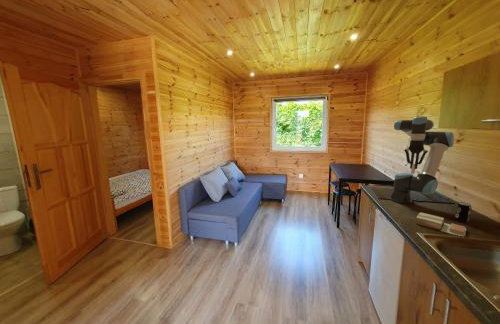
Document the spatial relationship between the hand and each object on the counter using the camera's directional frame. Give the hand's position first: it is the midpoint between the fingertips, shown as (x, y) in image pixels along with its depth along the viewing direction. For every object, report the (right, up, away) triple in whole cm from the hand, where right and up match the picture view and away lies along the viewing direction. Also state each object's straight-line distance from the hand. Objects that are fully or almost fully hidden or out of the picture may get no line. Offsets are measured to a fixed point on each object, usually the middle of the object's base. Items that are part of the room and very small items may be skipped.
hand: (412, 173), depth 144 cm
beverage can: (+26, -31, -8) cm, 41 cm away
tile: (+10, -31, -21) cm, 39 cm away
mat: (+9, -34, -20) cm, 40 cm away
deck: (+2, -32, -11) cm, 34 cm away
